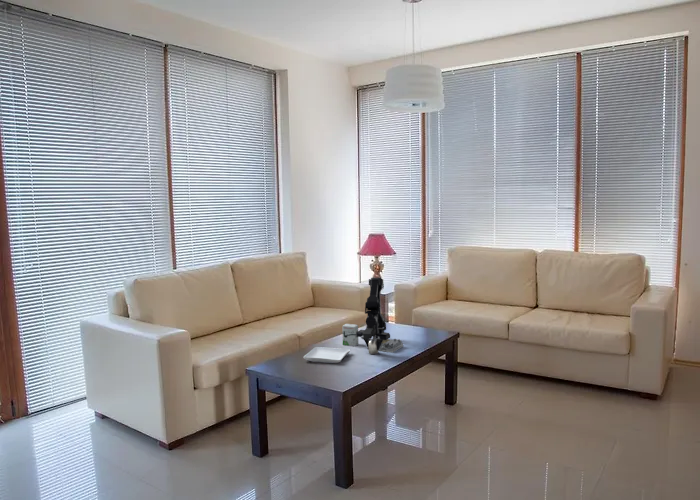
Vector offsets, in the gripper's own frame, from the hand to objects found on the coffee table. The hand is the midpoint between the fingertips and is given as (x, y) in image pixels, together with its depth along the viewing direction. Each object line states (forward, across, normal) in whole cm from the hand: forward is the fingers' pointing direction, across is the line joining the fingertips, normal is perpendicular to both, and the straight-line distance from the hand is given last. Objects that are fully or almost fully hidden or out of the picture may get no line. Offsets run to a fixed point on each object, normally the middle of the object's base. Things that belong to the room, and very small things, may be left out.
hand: (373, 349), depth 302 cm
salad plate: (+3, -19, -18) cm, 26 cm away
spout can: (+2, 0, 0) cm, 2 cm away
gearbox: (+2, +1, +13) cm, 13 cm away
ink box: (+2, -21, +11) cm, 24 cm away
